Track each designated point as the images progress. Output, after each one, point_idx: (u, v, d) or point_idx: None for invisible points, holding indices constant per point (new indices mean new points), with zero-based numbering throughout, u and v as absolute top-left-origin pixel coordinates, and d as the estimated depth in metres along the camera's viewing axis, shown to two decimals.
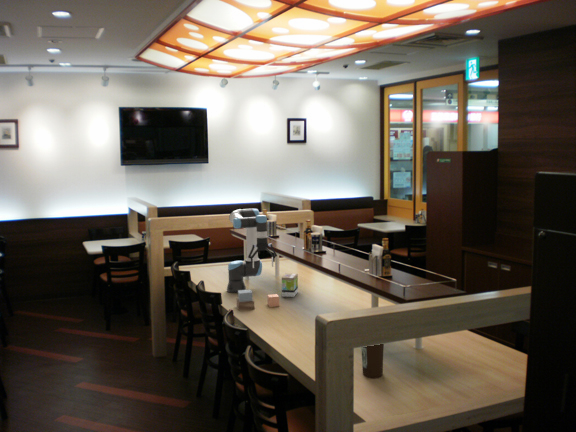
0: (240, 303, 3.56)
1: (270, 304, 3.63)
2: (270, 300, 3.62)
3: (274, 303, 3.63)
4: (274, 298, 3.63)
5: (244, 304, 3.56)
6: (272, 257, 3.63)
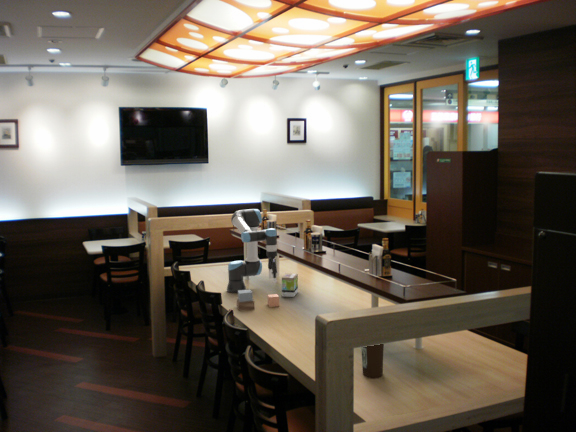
0: (240, 303, 3.56)
1: (270, 304, 3.63)
2: (270, 300, 3.62)
3: (274, 303, 3.63)
4: (274, 298, 3.63)
5: (244, 304, 3.56)
6: None
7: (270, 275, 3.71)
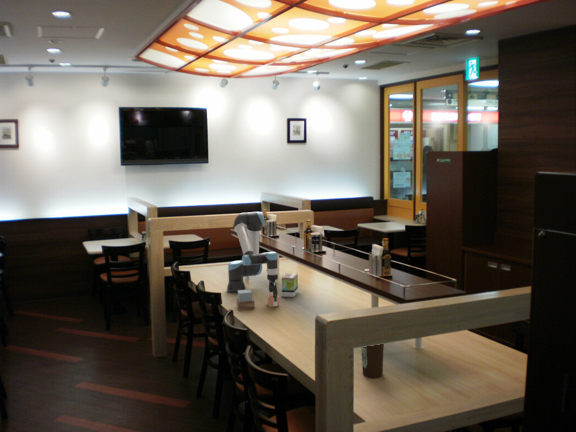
0: (240, 303, 3.56)
1: (270, 304, 3.63)
2: (270, 300, 3.62)
3: None
4: None
5: (244, 304, 3.56)
6: None
7: None
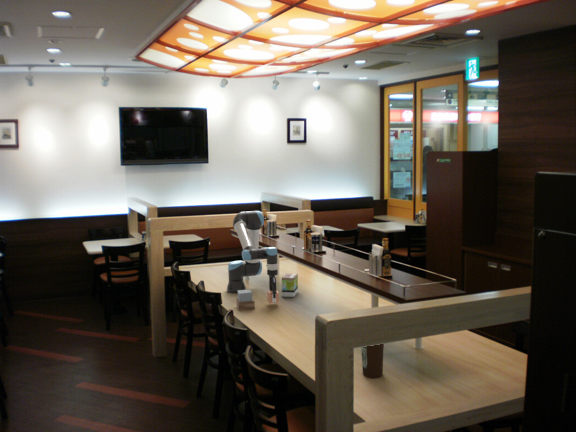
0: (240, 303, 3.56)
1: (270, 300, 3.63)
2: (270, 296, 3.62)
3: None
4: None
5: (244, 304, 3.56)
6: None
7: None
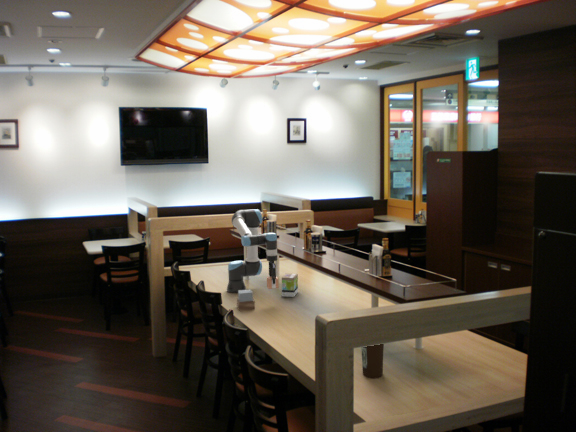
0: (240, 303, 3.56)
1: (269, 286, 3.61)
2: (269, 282, 3.61)
3: None
4: None
5: (244, 304, 3.56)
6: None
7: None
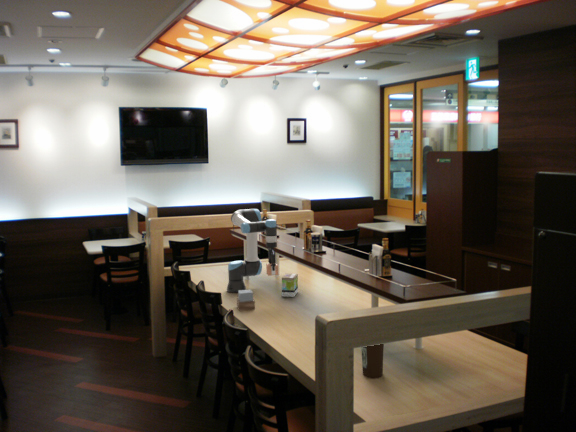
0: (240, 303, 3.56)
1: (269, 273, 3.60)
2: (269, 269, 3.60)
3: None
4: None
5: (245, 304, 3.56)
6: None
7: None
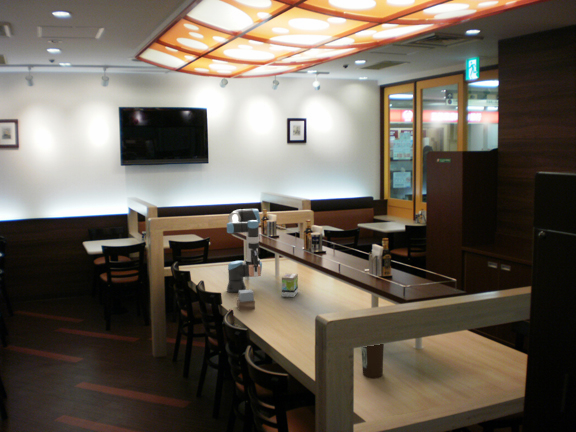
0: (240, 303, 3.56)
1: (251, 274, 3.57)
2: (251, 270, 3.57)
3: None
4: None
5: (245, 304, 3.56)
6: None
7: None
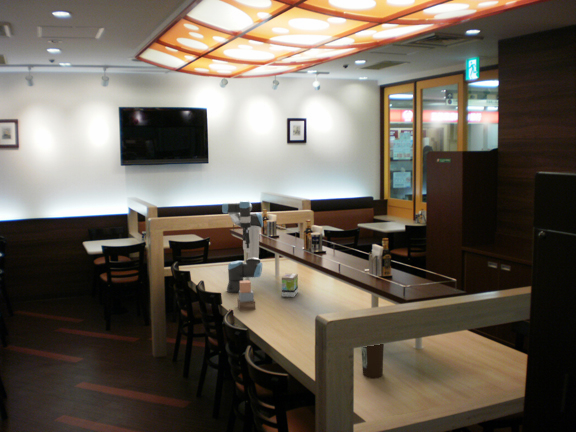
0: (241, 303, 3.55)
1: (241, 290, 3.57)
2: (241, 286, 3.57)
3: (245, 289, 3.57)
4: (245, 284, 3.57)
5: (245, 304, 3.56)
6: None
7: (244, 246, 3.85)
